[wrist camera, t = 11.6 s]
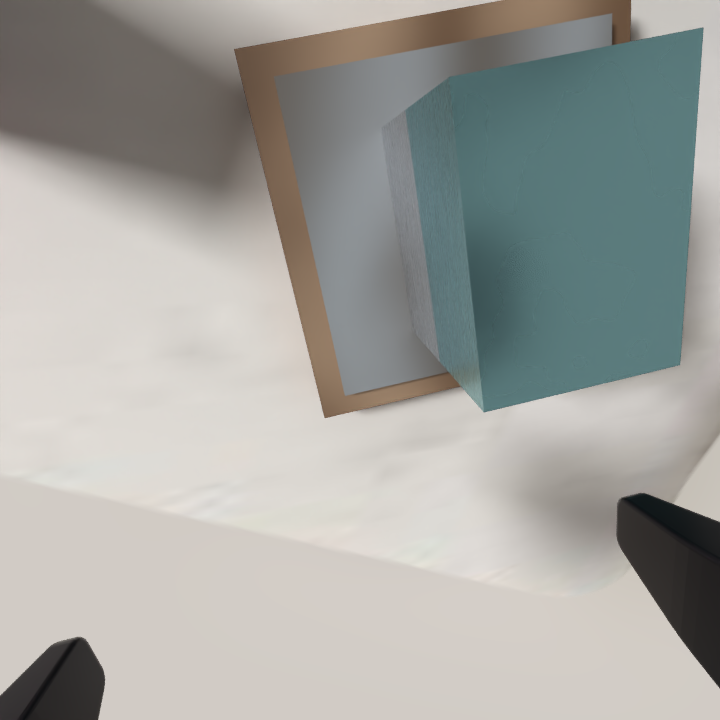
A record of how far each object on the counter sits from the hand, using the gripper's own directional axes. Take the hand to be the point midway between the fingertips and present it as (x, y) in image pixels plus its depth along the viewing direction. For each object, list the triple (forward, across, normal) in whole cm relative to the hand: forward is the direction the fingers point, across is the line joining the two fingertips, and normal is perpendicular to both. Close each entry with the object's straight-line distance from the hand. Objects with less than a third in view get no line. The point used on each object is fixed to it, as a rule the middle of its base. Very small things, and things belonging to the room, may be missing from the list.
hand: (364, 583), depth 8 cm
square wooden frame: (+13, -6, -4) cm, 15 cm away
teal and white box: (+10, -6, -4) cm, 13 cm away
